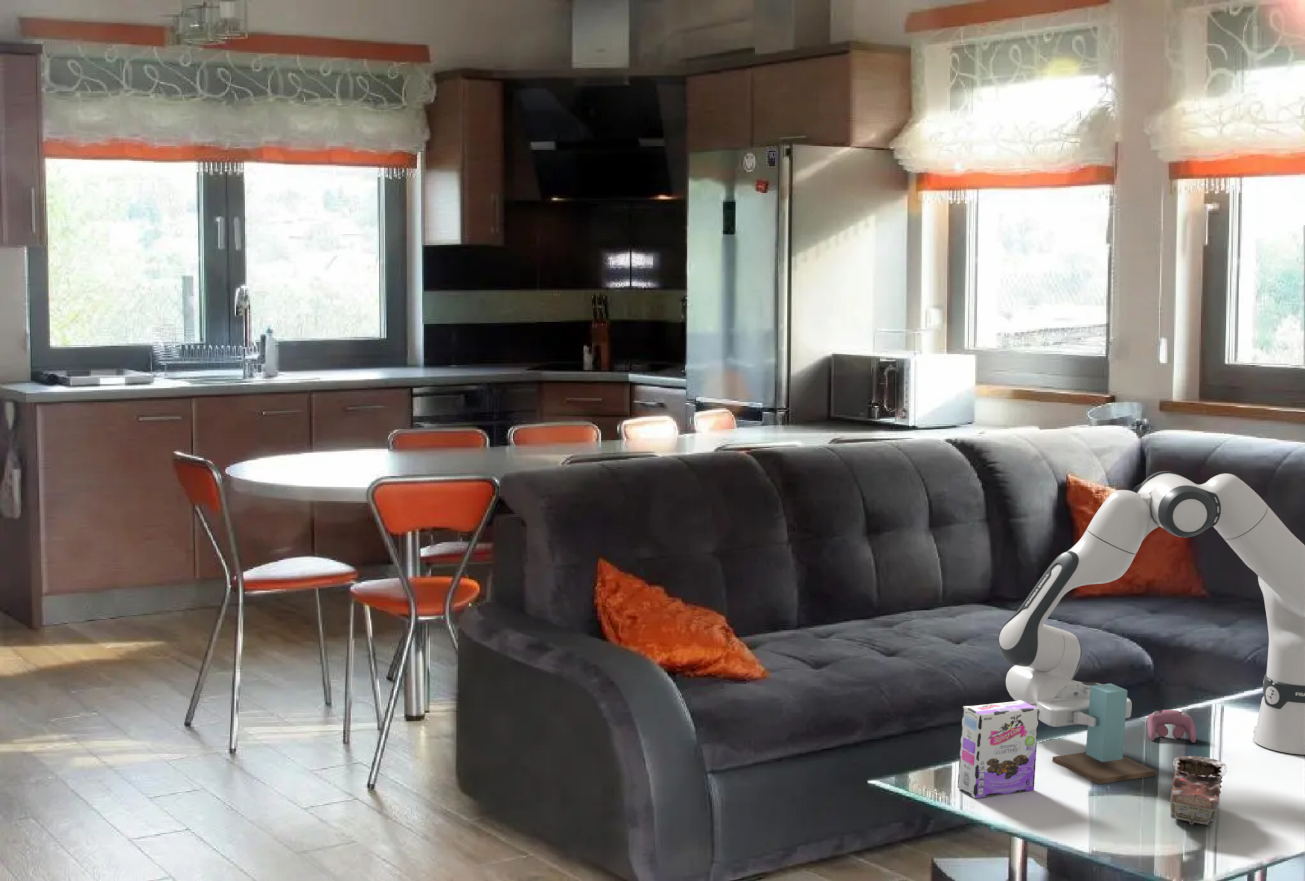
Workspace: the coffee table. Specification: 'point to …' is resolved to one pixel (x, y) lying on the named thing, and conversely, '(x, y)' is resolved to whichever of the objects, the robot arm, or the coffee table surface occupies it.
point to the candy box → (998, 748)
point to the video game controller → (1173, 717)
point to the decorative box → (1196, 789)
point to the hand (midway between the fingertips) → (1109, 721)
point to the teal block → (1107, 722)
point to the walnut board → (1103, 768)
